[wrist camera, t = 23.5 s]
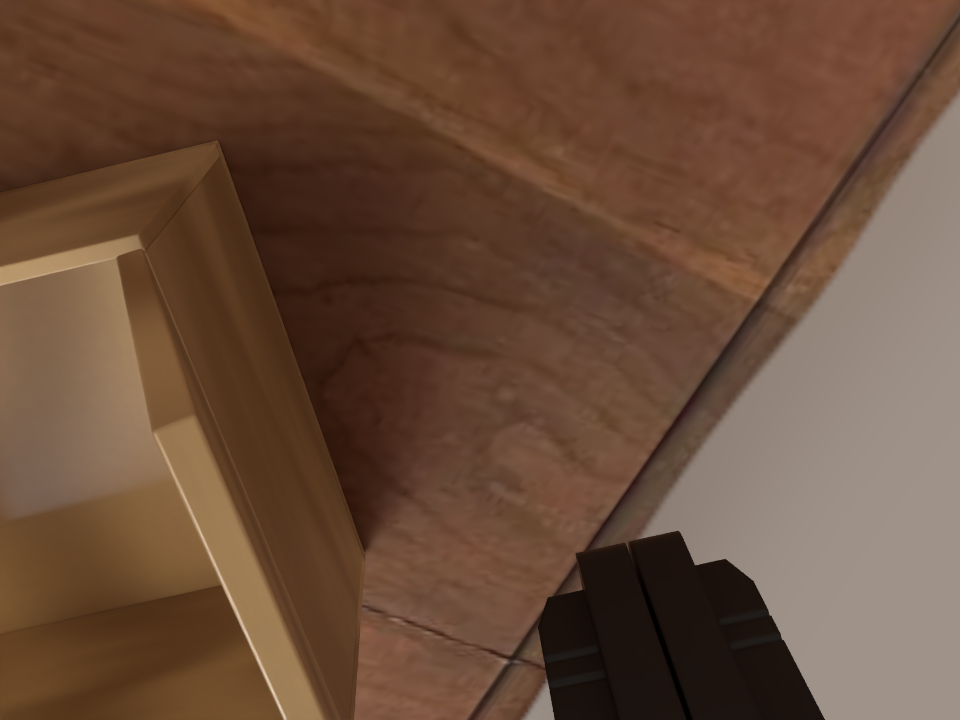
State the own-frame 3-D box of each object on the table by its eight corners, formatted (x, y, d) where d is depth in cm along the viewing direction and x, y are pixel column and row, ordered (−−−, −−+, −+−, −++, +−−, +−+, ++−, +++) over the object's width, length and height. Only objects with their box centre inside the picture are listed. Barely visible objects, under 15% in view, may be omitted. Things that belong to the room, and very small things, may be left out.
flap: (114, 255, 13) (142, 246, 13) (342, 777, 18) (360, 768, 18) (151, 432, 8) (196, 414, 8) (456, 1096, 13) (480, 1080, 13)
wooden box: (218, 139, 19) (137, 233, 13) (365, 554, 24) (352, 747, 19) (-336, 272, 19) (-637, 417, 14) (-74, 652, 25) (-216, 869, 19)
